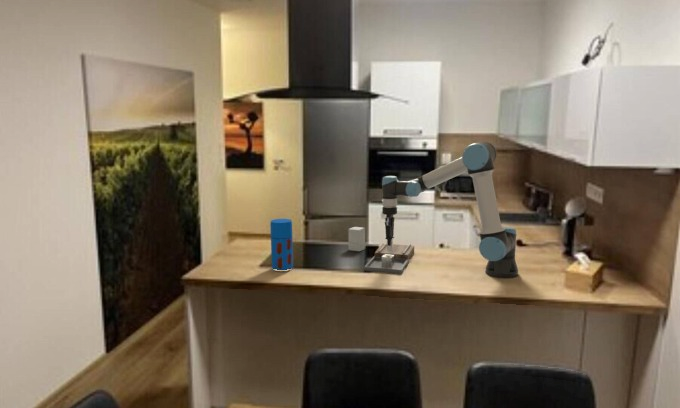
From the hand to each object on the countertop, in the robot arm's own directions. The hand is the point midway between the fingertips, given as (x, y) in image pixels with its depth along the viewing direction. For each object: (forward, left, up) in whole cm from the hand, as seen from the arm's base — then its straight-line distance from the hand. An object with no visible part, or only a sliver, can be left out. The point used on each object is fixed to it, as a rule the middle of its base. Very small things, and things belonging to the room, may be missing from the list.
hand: (389, 250), depth 261 cm
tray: (0, +5, -7) cm, 9 cm away
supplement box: (+24, -23, -7) cm, 34 cm away
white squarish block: (0, +1, -6) cm, 6 cm away
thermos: (+50, +24, -7) cm, 56 cm away
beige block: (0, +3, -4) cm, 5 cm away
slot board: (0, -15, -7) cm, 17 cm away
